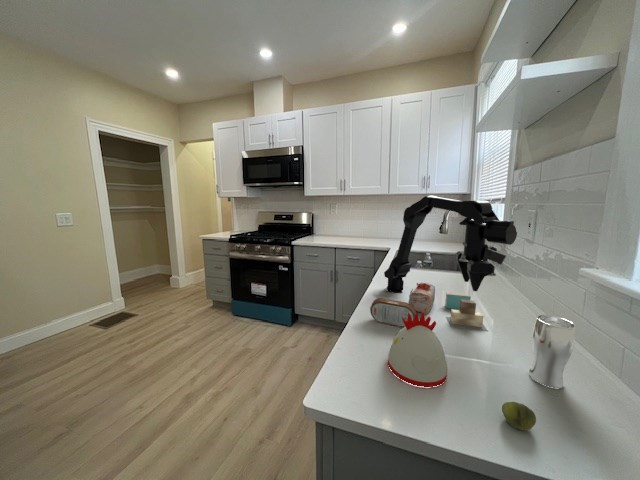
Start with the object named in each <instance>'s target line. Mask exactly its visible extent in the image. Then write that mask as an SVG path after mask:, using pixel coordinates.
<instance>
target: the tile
mask: <svg viewBox="0 0 640 480" xmlns="http://www.w3.org/2000/svg"><path fill="white" fill-rule="evenodd" d="M471 298H472V296H471V295H470V294H466V293H457V292H446V293H445V302H444V307H445V308H446V309H453V310H459V309H460V300H461V299H464V300H472V299H471Z"/></svg>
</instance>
